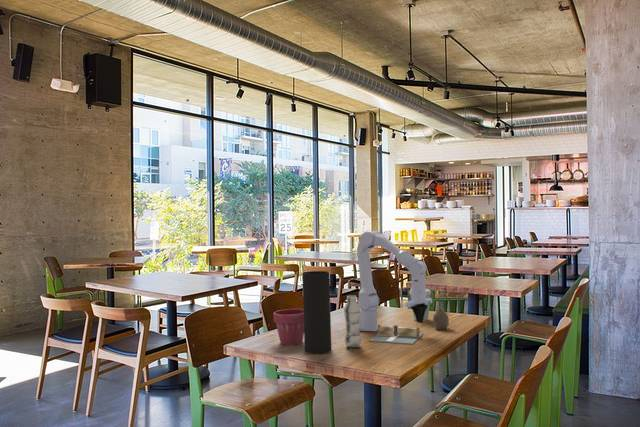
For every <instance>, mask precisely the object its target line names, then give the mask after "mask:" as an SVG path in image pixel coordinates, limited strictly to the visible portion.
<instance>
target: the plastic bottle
mask: <svg viewBox="0 0 640 427" xmlns="http://www.w3.org/2000/svg"><path fill="white" fill-rule="evenodd" d="M360 309H361V308H360V307H359V306H358V300H357V295H355V294H353V295H347V296H346V304H345V305H344V307H343V313H344V321H345V336H344V343H345V346H346V347H347V348H352V349H353V348H359V347H361V344H362V336H361V330H360V329H359V317H360Z"/></svg>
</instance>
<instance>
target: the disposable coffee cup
mask: <svg viewBox="0 0 640 427" xmlns="http://www.w3.org/2000/svg"><path fill="white" fill-rule="evenodd" d="M425 289H426V298H431V295H432V290H430V289H428V288H425ZM408 294H409V299H410V301H411V300H412V287H411V288H410V289H409V291H408ZM425 305H427V306H428V308H427V309H426V311H425V314H424V318H423V322H425V321H428V319H429V314H430V305H431V303H428V304H425ZM412 315H413V319H414V321H416V322H417V320H416V317H415V314H414V312H413V311H412Z"/></svg>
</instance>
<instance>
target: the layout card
mask: <svg viewBox="0 0 640 427" xmlns="http://www.w3.org/2000/svg"><path fill="white" fill-rule="evenodd" d="M423 335H424V333H423V332H420V337H416V336H400V335H398V336H394V330H393V335H385V334H381V335H378V333H377V334H376V335H374V336H373V337H372V338H370V339H369V340H368V343H369V342H370V343H374V342H375V343H383V344H384V343H386V344H396V345H397V344H399V345H414V344H415V343H416V342H417V341H418V340H419V339H420V338H421V337H422V336H423Z"/></svg>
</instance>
